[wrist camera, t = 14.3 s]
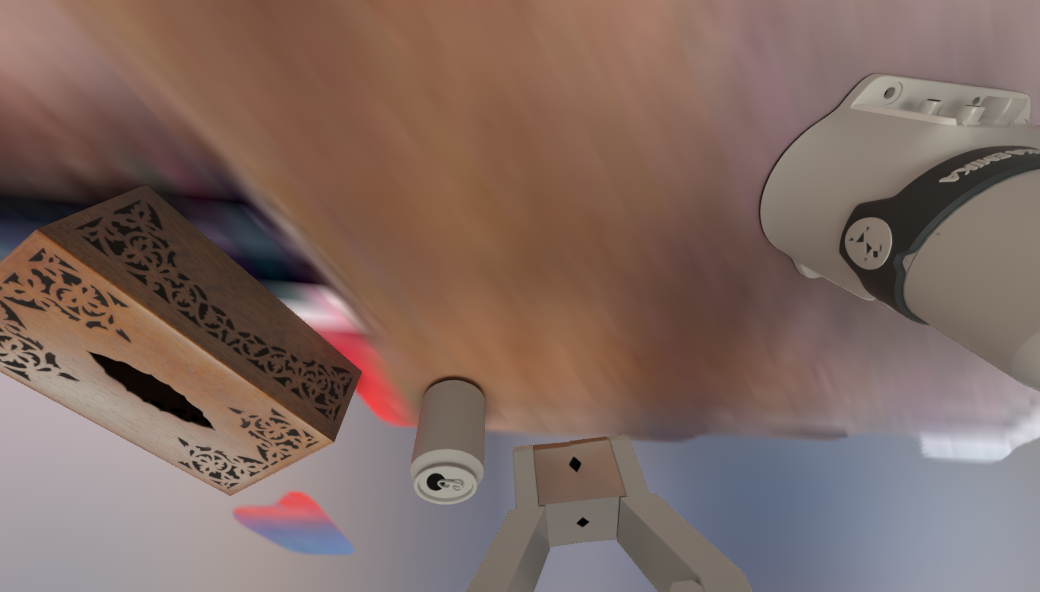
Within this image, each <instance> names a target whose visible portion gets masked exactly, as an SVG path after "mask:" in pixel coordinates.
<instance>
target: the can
mask: <svg viewBox="0 0 1040 592" xmlns="http://www.w3.org/2000/svg"><path fill="white" fill-rule="evenodd" d="M484 437H485V399H484V396H483V394H482V393H481V391H480V390H479V389H478V388H476V387H475V386H474V385H471V384H469V383H467V382H464V381H459V380H448V381H444V382H440V383H437V384H435V385H434V386H432V387H431V388H429V389H428V390H427V392H426V393H425V394H424V398H423V402H422V407H421V413H420V418H419V423H418V429H417V434H416V439H415V445H414V450H413V455H412V460H411V466H410V476H411V479H412V480H413V481H414V485H413V486H414V489H415V492H416V493H417V494H418V495H419V496H420V497H421V498H423V499H425V500H426V501H429V502H432V503H436V504H455V503H459V502H462V501H464V500H466V499H468V498H470V497H471V496H472V495H473V494H474V493H475V492H476V489H477V486H478V485H477V484H478V483H479V482H480V481H481V480H482V477H483V475H484V440H485V438H484Z"/></svg>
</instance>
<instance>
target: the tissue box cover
mask: <svg viewBox="0 0 1040 592" xmlns="http://www.w3.org/2000/svg"><path fill="white" fill-rule="evenodd" d="M0 372H2V373H3V374H5V375H7V376H9V377H11V378H13V379H15V380H16V381H18V382H20V383H22V384H24V385H26V386H28V387H30V388H31V389H33V390H35V391H37V392H39V393H41V394H43V395H44V396H46V397H48V398H50V399H52V400H53V401H55V402H57V403H59V404H61V405H63V406H65V407H67V408H68V409H70V410H72V411H74V412H76V413H78V414H79V415H81V416H83V417H85V418H87V419H89V420H91V421H92V422H94V423H96V424H98V425H100V426H102V427H104V428H105V429H107V430H109V431H111V432H113V433H115V434H117V435H119V436H120V437H122V438H124V439H126V440H128V441H129V442H131V443H133V444H135V445H137V446H139V447H141V448H142V449H144V450H146V451H148V452H150V453H152V454H154V455H155V456H157V457H159V458H161V459H163V460H165V461H167V462H168V463H170V464H172V465H174V466H176V467H178V468H180V469H181V470H183V471H185V472H187V473H189V474H191V475H192V476H194V477H196V478H198V479H200V480H202V481H204V482H206V483H207V484H209V485H211V486H213V487H215V488H217V489H218V490H220V491H222V492H224V493H226V494H228V495H230V496H231V495H233V494H235V493H237V492H239V491H241V490H243V489H245V488H247V487H248V486H250V485H252V484H254V483H256V482H258V481H260V480H262V479H264V478H266V477H268V476H270V475H272V474H274V473H276V472H277V471H279V470H281V469H283V468H285V467H287V466H289V465H291V464H293V463H295V462H297V461H299V460H301V459H303V458H304V457H307V456H308V455H310V454H312V453H314V452H316V451H318V450H320V449H322V448H324V447H326V446H328V445H330V444H332V443H334V441H335V439H336V436H337V433H338V431H339V429H340V426H341V423H342V421H343V418H344V416H345V413H346V410H347V408H348V406H349V403H350V400H351V398H352V395H353V393H354V390H355V388H356V385H357V383H358V380H359V378H360V375H361V373H362V371H361V370H359V369H358V368H357V367H356V366H355V365H354V364H353V363H351V362H350V361H349V360H348V359H347V358H346V357H344V356H343V355H342V354H341V353H340V352H339V351H338V350H336V349H335V348H334V347H333V346H332V345H331V344H329V343H328V342H327V341H326V340H325V339H324V338H323V337H321V336H320V335H319V334H318V333H317V332H316V331H314V330H313V329H312V328H311V327H310V326H309V325H308V324H306V323H305V322H304V321H303V320H302V319H301V318H300V317H298V316H297V315H296V314H295V313H294V312H293V311H291V310H290V309H289V308H288V307H287V306H286V305H285V304H283V303H282V302H281V301H280V300H279V299H278V298H276V297H275V296H274V295H273V294H272V293H271V292H270V291H268V290H267V289H266V288H265V287H264V286H263V285H261V284H260V283H259V282H258V281H257V280H256V279H255V278H253V277H252V276H251V275H250V274H249V273H248V272H247V271H245V270H244V269H243V268H242V267H241V266H240V265H238V264H237V263H236V262H235V261H234V260H233V259H232V258H230V257H229V256H228V255H227V254H226V253H225V252H223V251H222V250H221V249H220V248H219V247H218V246H217V245H215V244H214V243H213V242H212V241H211V240H210V239H208V238H207V237H206V236H205V235H204V234H203V233H202V232H200V231H199V230H198V229H197V228H196V227H195V226H193V225H192V224H191V223H190V222H189V221H188V220H187V219H185V218H184V217H183V216H182V215H181V214H180V213H179V212H177V211H176V210H175V209H174V208H173V207H172V206H170V205H169V204H168V203H167V202H166V201H165V200H164V199H162V198H161V197H160V196H159V195H158V194H157V193H155V192H154V191H153V190H152V189H151V188H150V187H149V186H147V185H143V186H141V187H139V188H136V189H134V190H131V191H129V192H126V193H124V194H122V195H119V196H117V197H114V198H112V199H109V200H107V201H104V202H102V203H100V204H97V205H95V206H92V207H90V208H87V209H85V210H83V211H80V212H78V213H75V214H73V215H70V216H68V217H66V218H63V219H61V220H58V221H56V222H53V223H51V224H48V225H46V226H44V227H41V228H39V229H37V230H35V231H34V232H33V233H32V234H31V235H30V236H29V237H28V238H26V239H25V240H24V241H23V242H22V243H21V244H20V245H19V246H17V247H16V248H15V249H14V250H13V251H12V252H11V253H10V254H8V255H7V256H6V257H5V258H4V259H3V260H2V261H1V262H0Z"/></svg>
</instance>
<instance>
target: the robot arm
mask: <svg viewBox="0 0 1040 592" xmlns="http://www.w3.org/2000/svg"><path fill="white" fill-rule="evenodd" d="M887 89H888V92H887V93H886V95H885V96H884V93H885V92H886V90H887ZM1030 112H1031V102H1030V97H1029V95H1027V94H1025V93H1020V92H1015V91H1010V90H1003V89H995V88H987V87H979V86H972V85H964V84H956V83H949V82H941V81H933V80H925V79H918V78H910V77H902V76H895V75H887V74H872V75H870V76H868V77H866V78H865V79H864V80H862V81H861V82H860V83H859V84H858V85H857V86H856V87H855V88H854V89H853V91H852V92H851V93H850V94H849V95H848V96H847V98H846V99H845V100H844V101H843V102H842V104H841V105H840V106H839V107H838V108H837V109H836V110H835V111H834V112H832V113H831V114H830V115H828V116H827V117H825V118H824V119H822V120H821V121H819V122H818V123H817V124H815V125H814V126H812V127H811V128H810V129H808V130H807V131H806V132H805V133H804V134H802V135H801V136H800V137H799V138H798V139H797V140H796V141H795V142H794V143H793V144H792V145H791V146H790V147H789V149H788V150H787V151H786V152H785V153H784V155H783V156H782V157H781V159H780V160H779V162H778V163H777V165H776V166H775V168H774V170H773V171H772V173H771V175H770V177H769V179H768V182H767V184H766V187H765V190H764V193H763V196H762V201H761V211H760V214H761V223H762V227H763V231H764V233H765V235H766V237H767V238H768V240H769V241H770V242H771V243H772V245H773V246H775V247H776V248H777V249H779V250H780V251H782V252H784V253H785V254H787V255H788V256H790V257H791V258H792V260H793V262H794V264H795V266H796V268H797V270H798V271H799V273H800V274H802V275H804V276H806V277H808V278H811V279H813V278H818V277H824V278H825V279H827V280H829V281H831V282H833V283H834V284H836V285H838V286H840V287H842V288H843V289H845V290H847V291H849V292H851V293H853V294H854V295H856V296H858V297H860V298H862V299H865V300H869V301H873V300H875V299H878V300H880V301H881V303H882V304H883V305H885V306H886V307H888V308H889V309H891V310H892V311H894V312H896V313H899V314H901V315H902V316H905V317H907V318H909V319H910V320H912V321H915V322H917V323H921V324H924V325H931V326H933V327H934V328H936V329H937V330H939V331H941V332H942V333H944V334H945V335H947V336H948V337H950V338H951V339H953V340H955V341H956V342H958V343H959V344H961V345H962V346H964V347H965V348H967V349H969V350H970V351H972V352H973V353H975V354H976V355H978V356H979V357H981V358H983V359H984V360H986V361H987V362H989V363H990V364H992V365H993V366H995V367H997V368H998V369H1000V370H1001V371H1003V372H1004V373H1006V374H1007V375H1009V376H1011V377H1012V378H1014V379H1015V380H1017V381H1018V382H1020V383H1022V384H1024V385H1026V386H1028V387H1030V388H1033V389H1035V390H1037V391H1040V126H1035V125H1028V124H1029V119H1030ZM533 453H534V455H533ZM513 468H514V485H515V505H516V509H513V510H510V511H509V513H508V515H507V516H506V518H505V520H504V522H503V524H502V526H501V527H500V529H499V531H498V533H497V535H496V537H495V538H494V540H493V542H492V544H491V546H490V548H489V550H488V551H487V553H486V555H485V557H484V559H483V561H482V562H481V564H480V566H479V568H478V570H477V572H476V574H475V575H474V577H473V579H472V581H471V583H470V585H469V587H468V588H467V590H466V592H534V590H535V587H536V584H537V582H538V579H539V577H540V574H541V571H542V569H543V566H544V563H545V561H546V558H547V555H548V553H549V550H550V547H553V546H560V545H567V544H574V543H581V542H592V541H604V540H616V539H617V542H618V543H619V544H620V545H621V547H622V548H623V549H624V550H625V552H626V553H627V554H628V555H629V557H631V559H632V560H633V561H634V563H635V564H636V565H637V566H638V568H639V569H640V570H641V571H642V573H643V574H644V575H645V576H646V578H647V579H648V580H649V581H650V582H651V584H652V585H653V586H654V587H655V589H656V590H657V591H658V592H752V589H751V587H750V585H749V583H748V581H747V579H746V577H745V575H744V573H743V572H742V571H741V570H740V569H739V568H738V567H737V566H735V565H734V564H733V563H732V562H731V561H730V560H729V559H727V557H725V556H724V555H723V554H722V553H721V552H720V551H719V550H718V549H716V548H715V547H714V546H713V545H712V544H711V543H710V542H709V541H708V540H706V539H705V538H704V537H703V536H702V535H701V534H700V533H699V532H698V531H697V530H695V529H694V528H693V527H692V526H691V525H690V524H689V523H688V522H687V521H685V520H684V519H683V518H682V517H681V516H680V515H679V514H678V513H677V512H676V511H674V510H673V509H672V508H671V507H670V506H669V505H668V504H667V503H666V502H664V501H663V500H662V499H661V498H660V497H659V496H658V495H657V494H649V491H648V488H647V485H646V482H645V480H644V477H643V474H642V471H641V468H640V466H639V463H638V460H637V457H636V454H635V452H634V449H633V446H632V443H631V440H630V438H629V437H628V436H627V435H618V436H611V437H607V436H605V437H598V438H590V439H582V440H574V441H570V442H562V443H551V444H540V445H533V447H532V445H528V446H519V447H513Z"/></svg>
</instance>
